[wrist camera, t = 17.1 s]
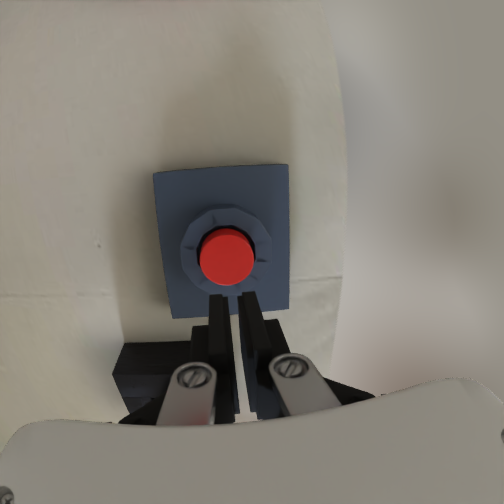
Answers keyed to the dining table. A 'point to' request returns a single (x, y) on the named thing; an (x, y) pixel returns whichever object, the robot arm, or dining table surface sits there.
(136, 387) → the holder
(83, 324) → the dining table surface
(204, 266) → the power button
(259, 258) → the station
